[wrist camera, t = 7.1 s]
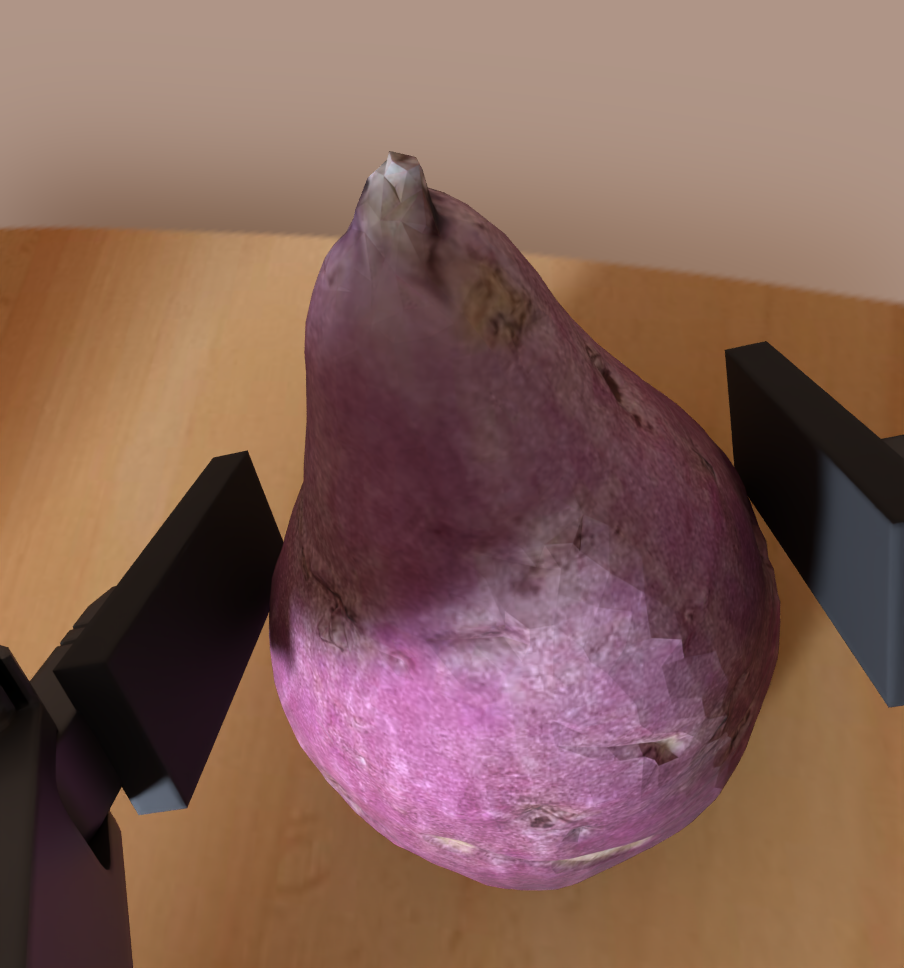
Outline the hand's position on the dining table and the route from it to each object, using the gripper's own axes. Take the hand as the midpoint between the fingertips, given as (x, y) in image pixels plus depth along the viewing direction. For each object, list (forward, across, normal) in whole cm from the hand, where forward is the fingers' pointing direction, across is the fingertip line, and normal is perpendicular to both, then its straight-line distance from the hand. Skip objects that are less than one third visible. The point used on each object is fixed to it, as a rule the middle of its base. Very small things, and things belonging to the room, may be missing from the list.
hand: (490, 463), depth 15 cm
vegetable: (+1, 0, -5) cm, 5 cm away
